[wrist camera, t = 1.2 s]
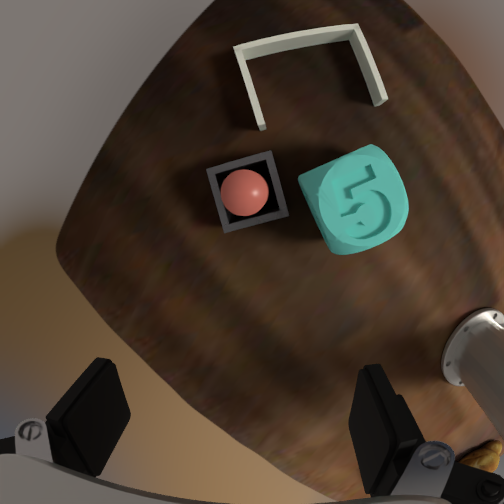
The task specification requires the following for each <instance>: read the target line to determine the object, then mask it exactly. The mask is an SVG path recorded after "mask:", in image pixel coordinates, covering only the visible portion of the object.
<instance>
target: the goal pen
mask: <svg viewBox="0 0 504 504" xmlns="http://www.w3.org/2000/svg"><path fill="white" fill-rule="evenodd" d="M346 40H349V41H350V44H351V46H352V48H353V51H354V53H355V56H356V58H357V61H358V63H359V66H360V68H361V71H362V74H363V76H364V79H365V82H366V84H367V87H368V90H369V93H370V96H371V99H372V102H373V105H374V106H380V105H381V104H382V103H384V102H385V101H386V100H388V97H387V94H386V91H385V88H384V85H383V83H382V80H381V77H380V75H379V72H378V69H377V67H376V64H375V62H374V59H373V57H372V54H371V52H370V50H369V47H368V45H367V43H366V40H365V38H364V36H363V34H362V31H361V29H360V27H359V25H358V24H347V25H338V26H330V27H322V28H316V29H309V30H303V31H298V32H292V33H287V34H282V35H278V36H273V37H269V38H264V39H260V40H256V41H252V42H248V43H244V44H241V45H237V46H234V47H233V48H234V51H235V54H236V57H237V60H238V63H239V66H240V69H241V72H242V75H243V78H244V82H245V85H246V88H247V91H248V94H249V98H250V101H251V104H252V107H253V111H254V114H255V117H256V121H257V124H258V127H259V129H260V131H262V130H265V129H266V126H265V122H264V119H263V115H262V112H261V109H260V106H259V102H258V99H257V96H256V93H255V90H254V87H253V83H252V80H251V77H250V74H249V71H248V68H247V65H246V62H245V60H249V59H252V58H256V57H260V56H264V55H268V54H272V53H277V52H281V51H286V50H291V49H296V48H301V47H306V46H312V45H318V44H324V43H331V42H338V41H346Z"/></svg>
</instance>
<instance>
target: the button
mask: <svg viewBox="0 0 504 504" xmlns="http://www.w3.org/2000/svg"><path fill="white" fill-rule="evenodd" d="M268 196H269V187H268V184H267V182H266V180H265V179H264V178H263V177H262V176H261V175H260V174H258V173H256V172H254V171H251V170H245V169H243V170H237V171H234V172H232V173H231V174H229V175H228V176H227V177H226V179H225V180H224V182H223V184H222V187H221V199H222V202H223V204H224V206H225V207H226V208H227V209H228V210H229V211H230V212H232V213H233V214H236V215H239V216H249V215H252V214H255V213H256V212H258V211H259V210H260V209H261V208H262V207H263V206H264V205H265V203H266V201H267V199H268Z"/></svg>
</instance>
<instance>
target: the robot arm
mask: <svg viewBox="0 0 504 504" xmlns="http://www.w3.org/2000/svg"><path fill="white" fill-rule="evenodd" d="M441 368H442V372H443V375H444V376H445V378H446V379H447V381H448V382H449V383H451V384H453V385H455V386H466V388H467V389H468V390H469V392H470V393H471V394H472V396H473V397H474V398H475V400H476V401H477V403H478V404H479V405H480V407H481V408H482V409H483V411H484V412H485V414H486V415H487V417H488V418H489V419H490V421H491V422H492V424H493V425H494V427H495V428H496V429H497V431H498V432H499V434H500V435H501V437H502V439H503V440H504V315H503V314H502V313H501V312H500V311H498V310H496V309H494V308H484V309H480V310H478V311H476V312H474V313H472V314H471V315H469V316H468V317H467V318H466V319H464V320H463V321H462V322H461V323H460V324H459V325H458V327H457V328H456V329H455V330H454V332H453V333H452V334H451V336H450V338H449V340H448V341H447V343H446V346H445V348H444V351H443V355H442V360H441ZM130 416H131V413H130V409H129V407H128V404H127V401H126V398H125V395H124V391H123V388H122V385H121V382H120V379H119V376H118V372H117V369H116V365H115V364H114V363H112V361H111V360H110V359H105V358H99V357H98V358H96V359H95V360H94V361H93V362H92V363H91V364H90V365H89V367H88V368H87V369H86V370H85V371H84V372H83V373H82V374H81V376H80V377H79V378H78V379H77V380H76V381H75V383H74V384H73V385H72V386H71V387H70V388H69V390H68V391H67V392H66V393H65V394H64V395H63V397H62V398H61V399H60V400H59V401H58V402H57V404H56V405H55V406H54V407H53V408H52V410H51V411H50V412H49V413H48V414H47V416H46V419H47V421H46V422H45V423H44V422H43V421H42V420H40V419H35V418H33V419H32V418H31V419H27V420H24V421H23V422H21V423H20V424H19V425H18V426H17V428H16V429H15V436H13V437H9V438H4V439H0V504H227V503H215V502H206V501H198V500H190V499H184V498H177V497H172V496H165V495H161V494H156V493H151V492H146V491H142V490H138V489H134V488H130V487H125V486H122V485H118V484H114V483H111V482H108V481H104V480H101V479H98V478H96V476H99V475H100V474H101V472H102V470H103V469H104V467H105V465H106V463H107V461H108V459H109V457H110V455H111V453H112V451H113V450H114V448H115V446H116V444H117V442H118V440H119V438H120V437H121V435H122V433H123V431H124V429H125V427H126V425H127V424H128V422H129V420H130ZM349 430H350V434H351V438H352V441H353V445H354V449H355V453H356V457H357V461H358V465H359V469H360V473H361V477H362V481H363V486H364V490H365V493H366V494H370V495H371V498H363V499H355V500H347V501H339V502H329V503H317V504H504V479H503V478H502V477H501V476H500V475H497V474H495V473H491V472H488V471H485V470H481V469H478V468H475V467H471V466H468V465H465V464H462V463H459V462H456V461H455V454H454V451H453V450H452V448H451V447H450V446H449V445H447V444H446V443H443V442H440V441H428V442H426V441H425V439H424V437H423V435H422V433H421V431H420V429H419V427H418V425H417V423H416V421H415V419H414V417H413V415H412V413H411V411H410V410H409V408H408V406H407V404H406V402H405V400H404V398H403V397H402V395H400V394H398V395H396V393H395V392H394V390H393V388H392V386H391V384H390V382H389V380H388V378H387V376H386V374H385V372H384V370H383V368H382V367H381V365H380V364H372V365H365V366H364V368H363V369H360V370H359V373H358V378H357V384H356V389H355V394H354V398H353V403H352V408H351V412H350V417H349Z"/></svg>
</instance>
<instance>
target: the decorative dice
mask: <svg viewBox="0 0 504 504" xmlns="http://www.w3.org/2000/svg"><path fill="white" fill-rule="evenodd" d="M298 182H299V185H300V187H301V190H302V192H303V195H304V197H305V199H306V201H307V204H308V206H309V208H310V210H311V213H312V215H313V217H314V219H315V221H316V223H317V225H318V228H319V230H320V232H321V234H322V236H323V238H324V240H325V242H326V244H327V246H328V248H329V249H330V251H331V252H332V253H335V254H338V255H347V254H353V253H357V252H361V251H364V250H367V249H370V248H372V247H375V246H377V245H379V244H381V243H383V242H385V241H387V240H389V239H390V238H392V237H393V236H395V235H396V234H397V233H398V232H399V231H400V230H401V229H402V228H403V226H404V224H405V222H406V219H407V215H408V210H409V207H408V199H407V195H406V191H405V188H404V185H403V182H402V180H401V178H400V175H399V173H398V171H397V170H396V168H395V166H394V164H393V163H392V161H391V160H390V159H389V157H388V156H387V155H386V154H385V153H384V152H383V151H382V150H381V149H380V148H378V147H377V146H374V145H372V144H370V145H368V146H365V147H363V148H361V149H358V150H356V151H353V152H351V153H349V154H346V155H344V156H342V157H340V158H337V159H335V160H333V161H330V162H328V163H326V164H324V165H321V166H319V167H317V168H315V169H312V170H310V171H308V172H306V173H304V174H301V175H299V177H298Z"/></svg>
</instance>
